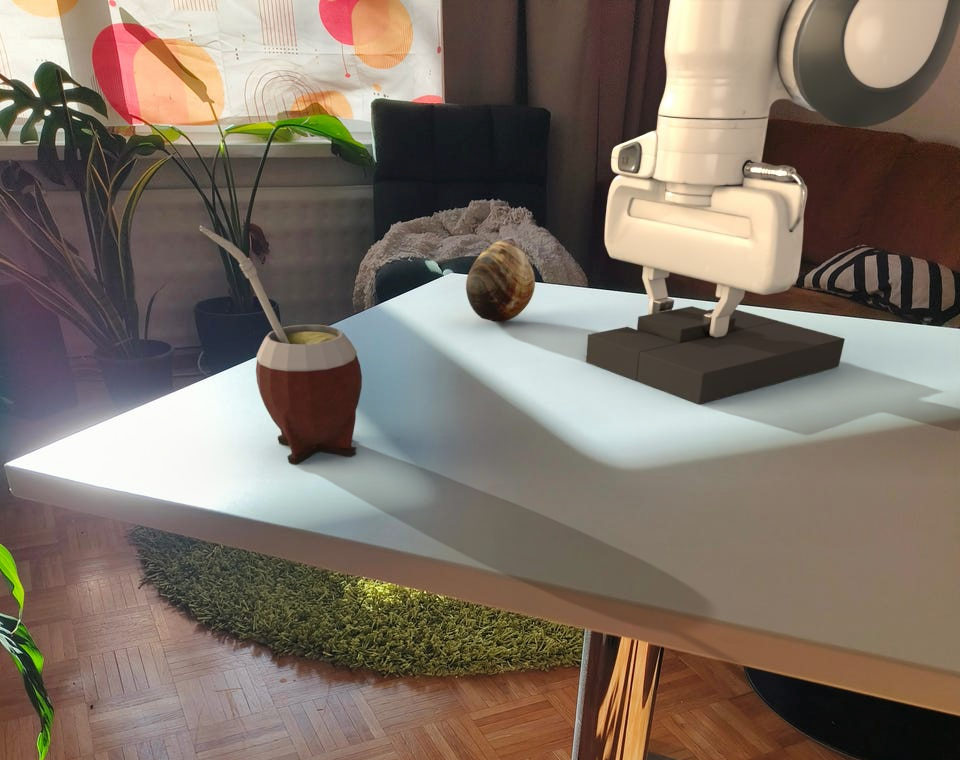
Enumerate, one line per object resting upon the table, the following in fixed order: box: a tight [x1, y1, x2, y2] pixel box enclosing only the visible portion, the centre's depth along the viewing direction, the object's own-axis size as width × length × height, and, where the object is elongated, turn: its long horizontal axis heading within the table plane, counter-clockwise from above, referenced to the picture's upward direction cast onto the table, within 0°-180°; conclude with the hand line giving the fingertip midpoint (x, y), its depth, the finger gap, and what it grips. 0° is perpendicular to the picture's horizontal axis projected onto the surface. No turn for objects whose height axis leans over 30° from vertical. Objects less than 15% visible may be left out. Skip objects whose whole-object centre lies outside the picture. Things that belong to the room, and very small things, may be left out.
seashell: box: [465, 236, 536, 323], centre depth 91 cm, size 10×6×8 cm, turn 143°
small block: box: [636, 305, 736, 343], centre depth 82 cm, size 7×6×2 cm
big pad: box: [585, 308, 846, 405], centre depth 80 cm, size 18×14×2 cm
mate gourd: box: [199, 225, 363, 465], centre depth 59 cm, size 8×8×15 cm
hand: (685, 326), depth 82 cm, fingers closed on small block, 5 cm apart
